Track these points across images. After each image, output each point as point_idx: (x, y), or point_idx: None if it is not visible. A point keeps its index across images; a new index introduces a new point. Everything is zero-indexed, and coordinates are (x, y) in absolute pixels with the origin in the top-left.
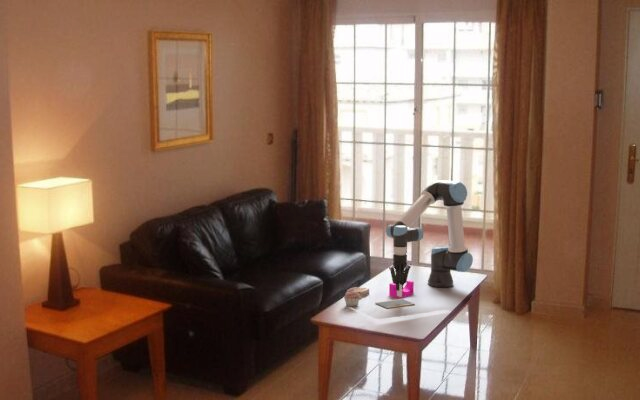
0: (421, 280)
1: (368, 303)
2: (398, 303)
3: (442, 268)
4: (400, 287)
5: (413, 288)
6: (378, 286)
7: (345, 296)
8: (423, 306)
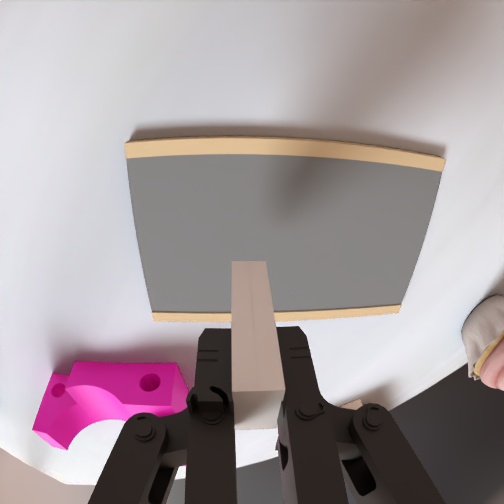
0: (19, 433)
1: (410, 327)
2: (268, 226)
3: None
4: (265, 353)
5: (43, 397)
6: None
7: None
8: (84, 60)
